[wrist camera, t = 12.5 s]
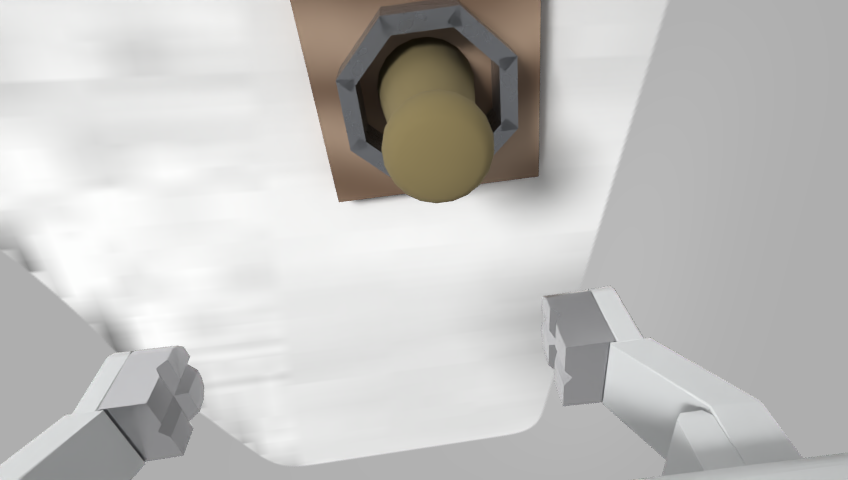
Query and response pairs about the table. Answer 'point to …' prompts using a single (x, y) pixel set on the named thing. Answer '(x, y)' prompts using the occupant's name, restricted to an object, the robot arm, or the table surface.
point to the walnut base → (338, 33)
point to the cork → (433, 121)
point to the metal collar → (415, 18)
